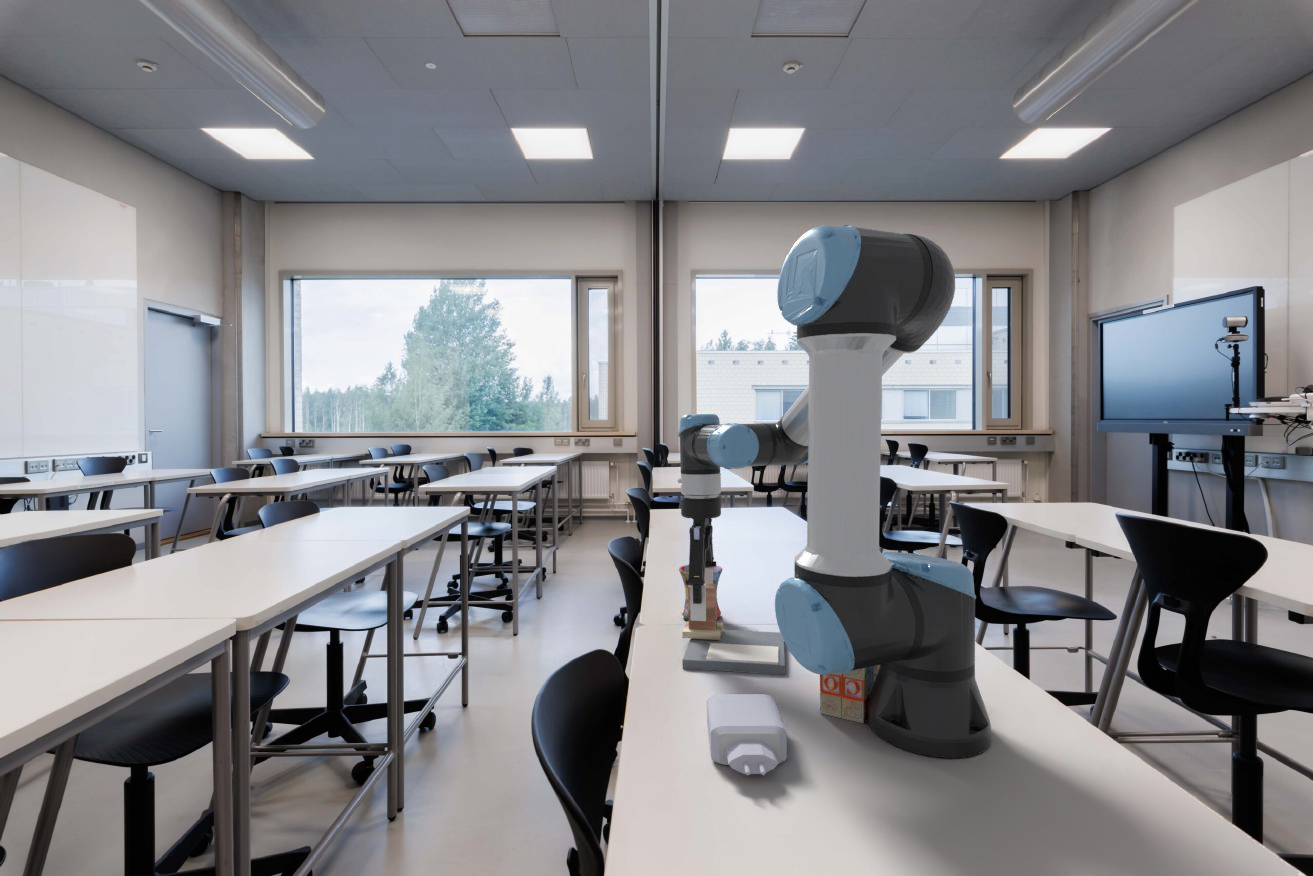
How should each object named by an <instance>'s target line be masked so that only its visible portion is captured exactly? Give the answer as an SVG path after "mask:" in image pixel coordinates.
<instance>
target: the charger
mask: <svg viewBox="0 0 1313 876" xmlns="http://www.w3.org/2000/svg"><path fill="white" fill-rule="evenodd" d="M706 724H707V725H706V727H707V732H708V733H707V734H708V741H709V743H708V744H709V749H710V750H709V751H710V757H711V761H713V762H714V763H716V764H720V765H725V766H729V767H730V768H731V769H733V770H734V771H737V772H738V773H741V774H743V775H746V776H749V775H762V776H765V775H766V773H768V772H770V771H771V770H774V769H775V768H776V767H777V766H778V765H779V764H781V763H784V762H785V761H786V760H787V758H788V754H787V753H788V752H787V750H788V745H787V744H788V742H787V741H788V740H787V735H788V734H787V731H786V728H785V725H784V722H783V719H782V716H781V714H780V711H779V707H778V706H777V703H776V700H775V698H774V697H773V696H771V695H769V694H764V693H763V694H762V693H761V694H759V693H754V694H753V693H751V694H750V693H744V694H743V693H742V694H741V693H739V694H736V693H735V694H733V693H732V694H730V693H727V694H723V693H722V694H721V693H720V694H713V695H711V696H709V697H708V698H707V699H706Z"/></svg>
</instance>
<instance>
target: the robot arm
mask: <svg viewBox="0 0 1313 876" xmlns="http://www.w3.org/2000/svg"><path fill="white" fill-rule="evenodd" d="M779 273H780V274H779V277H778V281H777V282H778V283H777V291H776V292H777V298H776V299H777V305H778V308H779V311H780V312H781V316H782V317H783V319H784V320H786V321H787V322H788V323H790V324H791V325H793V326H796V344H797V345H798V346H800V347H801V348H802V349H803V351H804V352H805V353H806V354H807V356H808V385H807V387H805V389H803V391H802V392H801V394H800V395H799V396H798V397H797V399H796V400H795V401H794V402H793V404H791V406H790V407H789V409H788V410H787V411H786V412H785V413H784V415H783V416H781V417H780V419H779V420H778V421H777V422H774V423H772V422H770V423H769V422H767V423H762V422H761V423H724V424H721V423H720V418H719V416H718V415H717V414H715V413H706V414H705V413H704V414H703V413H699V414H698V413H697V414H696V413H694V414H684V415H682V416H681V417H680V420H679V421H680V422H679V433H678V438H679V454H680V455H679V458H680V459H679V461H680V465H679V466H680V477H679V478H678V479H677V483H679V484H681V485H680V493H681V495H683V496H682V497H681V499H680V515H681V516H682V517H683V518H685V519H692V520H693V521H692V525H691V526H690V527H689V529H688V530H689V555H688V556H689V557H688V565H689V579H688V580H686V585H690V615H691V621H706V584H704V583H712V584H713V568H710V567H716V565H717V561H715V557H714V547H713V545H714V544H713V529H714V528H713V525H712V521H713V519H717V518H720V516H722V515H721V514H722V507H721V506H722V503H721V502H722V501H721V500H722V498H721V497H720V496H719V495H720V494H721V493H722V483H721V482H722V479H721V478H722V473H721V468H724V469H725V470H726V469H727V470H732V469H733V470H734V469H735V470H736V469H743V468H747V467H759V466H760V467H763V466H764V467H765V466H785V465H786V466H789V465H793V466H800V465H803V464H807V518H806V520H807V521H806V522H807V526H806V528H807V529H806V531H807V532H806V534H807V535H806V537H807V538H806V546H805V547H804V548H803V549H802V550H801V551H800V552H798V553H797V554H796V555H795V557H794V570H793V571H794V577H790V578H788V579H786V580H784V581H782V582H781V583H780V584H779V586H778V587H779V588H777V589H776V592H775V599H774V611H775V612H774V613H775V618H776V624H777V626H778V630H779V633H781V635H782V638H783V640H784V644H785V645H786V647H787V649H788V651H789V652H790V654H791V655H792V656H793V658H794V659H795V660H796V662H797V663H798V664H799V665H800V666H802V668H804V669H806V670H807V671H809V672H810V673H813V674H816V675H820V674H821V675H825V674H833V673H843V674H845V673H849V672H851V671H852V670H857V669H862V668H867V667H871V666H876V665H880V667H879V670H878V673H877V676H876V679H875V682H874V685H873V688H872V691H871V693H870V696H869V699H868V703H867V717H866V720H867V725H868V726H869V728H870V730H871V731H872V732H873V733H874V734H876V736H878V737H879V738H880V739H883V740H884V741H886V742H887V743H888V744H889V743H890V745H893V746H894V747H898V748H899V749H903V750H905V751H907V752H912V753H915V754H919V755H924V756H929V757H937V758H947V759H948V758H949V759H954V758H955V759H956V758H959V759H960V758H966V757H967V758H968V757H972V756H977V755H979V754H981V753H983V752H985V751H986V750H987V749H988V748H989V747H990V745H991V742H992V737H991V735H992V734H991V733H992V730H991V729H992V728H991V720H990V718H989V717H990V716H989V714H988V712H987V708H986V706H985V705H986V704H985V703H984V700H983V697H982V694H981V692H980V691H981V690H980V689H979V686H978V683H977V680H976V668H975V667H976V654H975V653H976V599H977V595H976V594H975V583H974V575H973V573H972V571H971V570H970V569H969V567H968V566H966V565H965V564H963V563H961V562H957V561H954V560H950V559H946V558H942V557H936V556H930V555H926V554H925V555H924V554H917V553H910V552H902V551H899V552H898V551H886V552H881V550H880V511H881V510H880V507H881V506H880V505H881V504H880V503H881V502H880V501H881V499H880V498H881V495H880V494H881V452H882V451H881V450H882V449H881V448H882V446H881V445H882V443H881V442H882V441H881V440H882V437H881V436H882V398H883V397H882V396H883V395H882V394H883V392H882V390H883V388H882V387H883V376H884V375H885V374H886V373H887V372H888V370H889V369H891V367H893V365H894V364H895V363H896V362H897V361H898V360H899V359H900V358H901V357H902V356H903V355H904V354H912V353H915V352H916V351H918V350H919V349H920V348H921V347H923V345H925V344H926V342H928V341H929V339H930V338H931V337H932V336H933V335H934V334H935V333H936V331H937V330H938V329H939V328H940V326H941V325H942V324H943V322H944V320H945V319H946V316H947V315H948V313H949V311H950V309H951V306H952V304H953V300H954V297H955V292H956V276H955V271H954V267H953V263H952V262H951V260H950V258H949V256H948V255H947V253H946V252H945V250H944V249H943V248H942V247H941V246H939V245H938V244H937V243H936V242H934V241H933V240H932V239H929V238H927V237H925V236H921V235H918V234H913V233H900V232H892V231H891V232H890V231H883V230H876V229H869V228H864V227H855V226H854V225H850V224H844V225H841V226H840V225H827V224H826V225H818V226H816V227H813V228H810V229H809V230H808V231H806V232H804V233H803V234H802V235H801V236H800V237H799V238H798V239H797V241H795V243H794V244H793V245H792V247H791V249H790V251H789V253H788V254H787V255H786V257H785V259H784V261H783V265H782V267H781V270H780V272H779ZM694 576H699V577H694Z"/></svg>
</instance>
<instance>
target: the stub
mask: <svg viewBox="0 0 1313 876" xmlns="http://www.w3.org/2000/svg"><path fill="white" fill-rule="evenodd" d="M704 584H706V621H691V615H690V585H689V586H688V608H689V619H688V621H686V622H685V625H684V628H682V629H683V630H682V634H681V635H682V639H691V638H692V639H711V640H720V639H721V635H722V631H723V630H724V622H718V618H717V603H718V594H716V584H712V583H704Z"/></svg>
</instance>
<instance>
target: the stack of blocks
mask: <svg viewBox="0 0 1313 876" xmlns="http://www.w3.org/2000/svg"><path fill="white" fill-rule="evenodd" d="M879 667H880V665H876V666H871V667H867V668H862V669H857V670H852V671H851V672H849V673H845V674H843V673H833V674H825V675H821V674H819V703H820V712H819V713H820V714H821V715H826V716H829V717H834V718H837V719H843V720H847V721H851V722H856V723H860V724H864V723H865V722H866V720H867V703H868V699H869V696H870V693H871V691H872V688H873V685H874V682H875V679H876V676H877V673H878V670H879Z"/></svg>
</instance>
